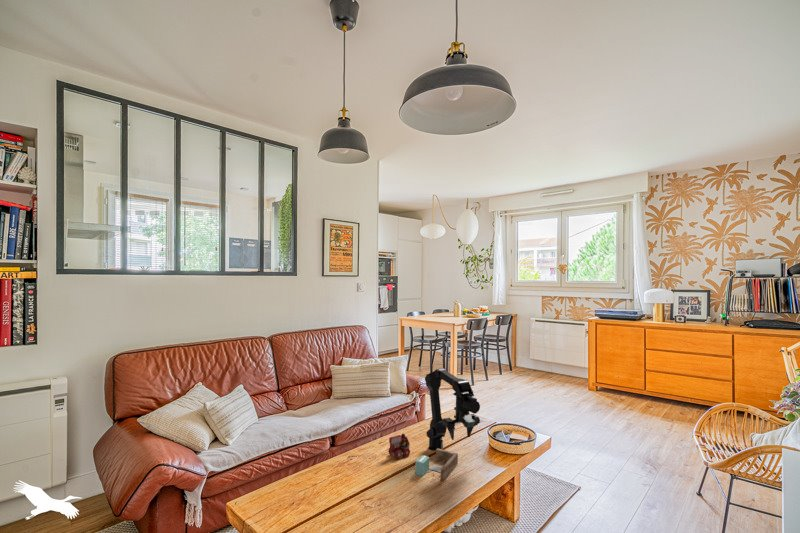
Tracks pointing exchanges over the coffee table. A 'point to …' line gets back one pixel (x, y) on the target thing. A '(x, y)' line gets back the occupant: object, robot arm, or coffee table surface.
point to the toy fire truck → (399, 446)
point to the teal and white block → (422, 465)
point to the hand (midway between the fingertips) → (460, 438)
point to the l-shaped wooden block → (449, 466)
